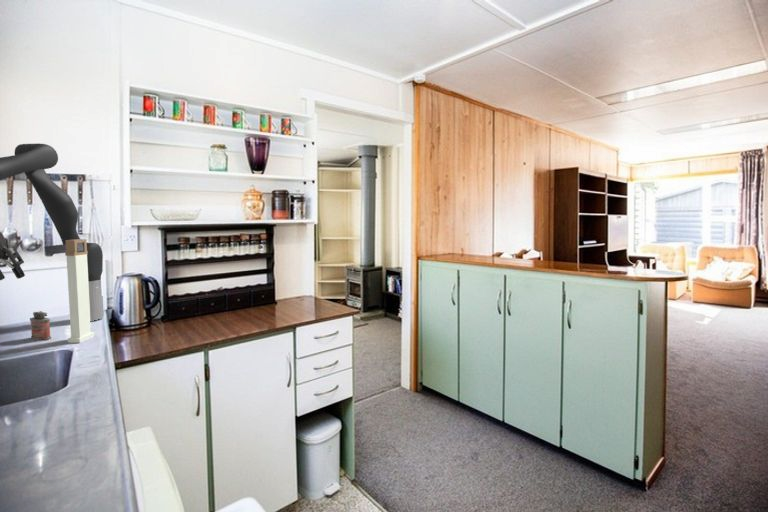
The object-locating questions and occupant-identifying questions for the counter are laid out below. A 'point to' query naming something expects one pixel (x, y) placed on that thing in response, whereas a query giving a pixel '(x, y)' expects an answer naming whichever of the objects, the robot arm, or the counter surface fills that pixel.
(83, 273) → the stand
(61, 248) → the steel bar
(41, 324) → the lighter
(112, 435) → the counter surface
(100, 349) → the counter surface
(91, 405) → the counter surface
